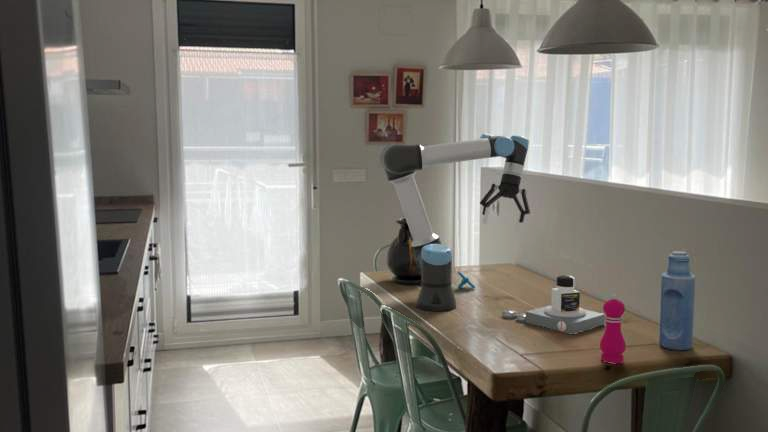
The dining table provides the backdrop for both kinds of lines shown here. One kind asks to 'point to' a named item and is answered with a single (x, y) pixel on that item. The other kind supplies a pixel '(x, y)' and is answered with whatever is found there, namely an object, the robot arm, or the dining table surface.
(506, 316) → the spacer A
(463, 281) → the gear
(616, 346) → the pepper mill
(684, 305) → the bottle
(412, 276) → the amphora vase
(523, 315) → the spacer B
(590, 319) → the scale
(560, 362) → the dining table surface
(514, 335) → the dining table surface
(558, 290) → the medicine bottle
